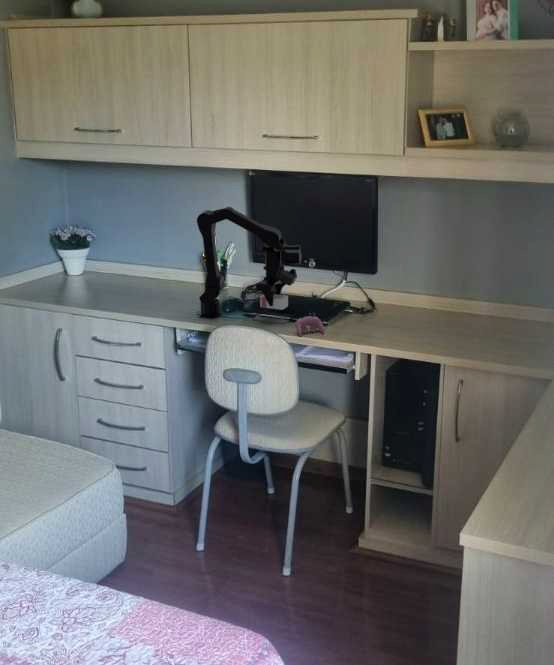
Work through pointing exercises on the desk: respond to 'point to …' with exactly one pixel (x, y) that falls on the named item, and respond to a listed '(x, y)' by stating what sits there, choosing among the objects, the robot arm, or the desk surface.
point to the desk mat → (270, 319)
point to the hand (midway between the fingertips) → (274, 304)
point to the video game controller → (309, 320)
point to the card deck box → (275, 302)
